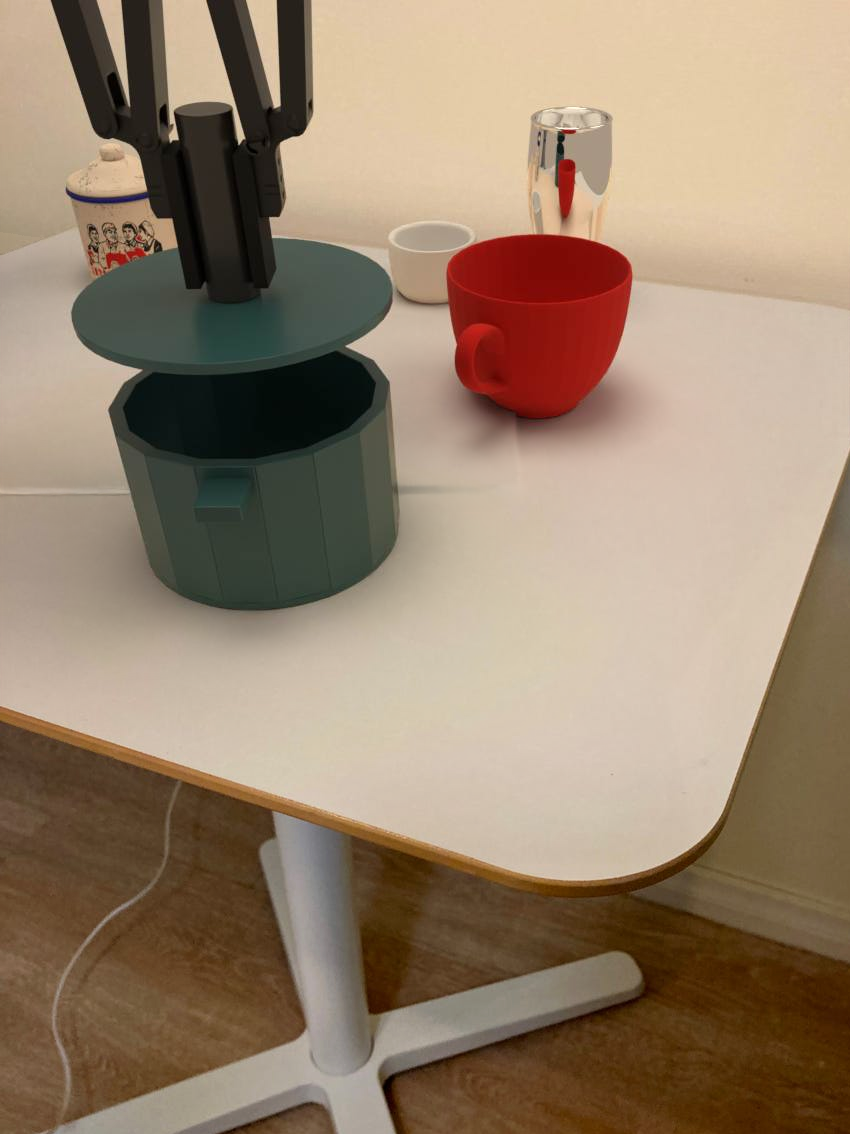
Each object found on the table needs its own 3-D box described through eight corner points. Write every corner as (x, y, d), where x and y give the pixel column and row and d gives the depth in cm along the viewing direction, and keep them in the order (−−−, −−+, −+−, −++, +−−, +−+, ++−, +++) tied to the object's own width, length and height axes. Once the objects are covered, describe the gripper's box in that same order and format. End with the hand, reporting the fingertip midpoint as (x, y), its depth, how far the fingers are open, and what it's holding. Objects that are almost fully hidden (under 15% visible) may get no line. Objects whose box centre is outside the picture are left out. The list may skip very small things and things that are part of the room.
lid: (31, 388, 50) (-41, 163, 43) (125, 258, 63) (81, 70, 56) (380, 385, 50) (361, 159, 43) (403, 256, 62) (392, 66, 56)
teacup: (491, 305, 92) (490, 243, 88) (409, 320, 89) (406, 258, 86) (448, 266, 99) (446, 208, 95) (372, 280, 96) (367, 220, 93)
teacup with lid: (80, 299, 94) (44, 163, 86) (100, 262, 101) (68, 133, 93) (214, 294, 94) (190, 158, 87) (225, 257, 101) (203, 128, 94)
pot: (104, 641, 58) (56, 495, 51) (188, 448, 73) (160, 319, 67) (384, 640, 57) (370, 494, 51) (408, 446, 73) (400, 317, 67)
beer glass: (613, 292, 94) (627, 110, 84) (586, 321, 89) (597, 132, 79) (542, 280, 96) (547, 102, 86) (512, 308, 91) (514, 123, 81)
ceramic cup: (386, 436, 74) (375, 301, 68) (504, 346, 85) (504, 222, 79) (546, 484, 69) (551, 343, 63) (650, 382, 80) (663, 252, 74)
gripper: (-123, -332, 37) (60, 309, 52) (322, -341, 37) (376, 306, 52) (-40, -320, 43) (103, 254, 58) (346, -328, 42) (387, 251, 58)
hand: (232, 277), depth 55 cm, fingers closed on lid, 3 cm apart
